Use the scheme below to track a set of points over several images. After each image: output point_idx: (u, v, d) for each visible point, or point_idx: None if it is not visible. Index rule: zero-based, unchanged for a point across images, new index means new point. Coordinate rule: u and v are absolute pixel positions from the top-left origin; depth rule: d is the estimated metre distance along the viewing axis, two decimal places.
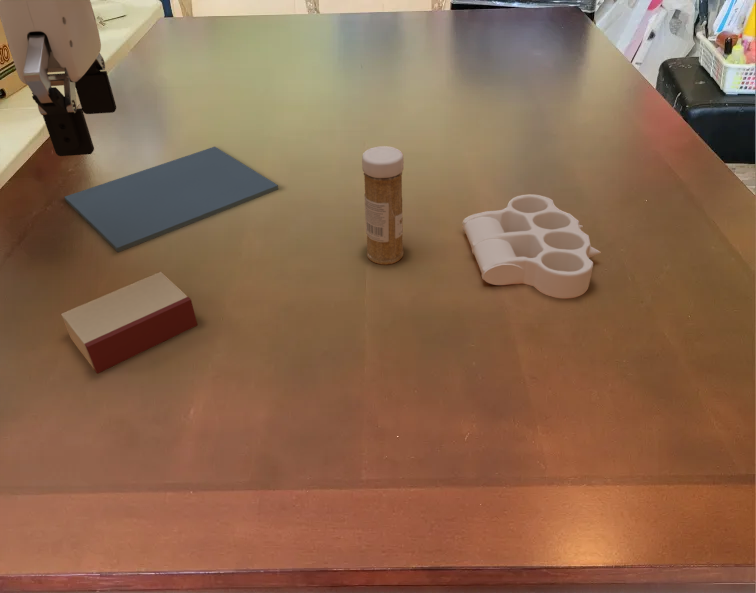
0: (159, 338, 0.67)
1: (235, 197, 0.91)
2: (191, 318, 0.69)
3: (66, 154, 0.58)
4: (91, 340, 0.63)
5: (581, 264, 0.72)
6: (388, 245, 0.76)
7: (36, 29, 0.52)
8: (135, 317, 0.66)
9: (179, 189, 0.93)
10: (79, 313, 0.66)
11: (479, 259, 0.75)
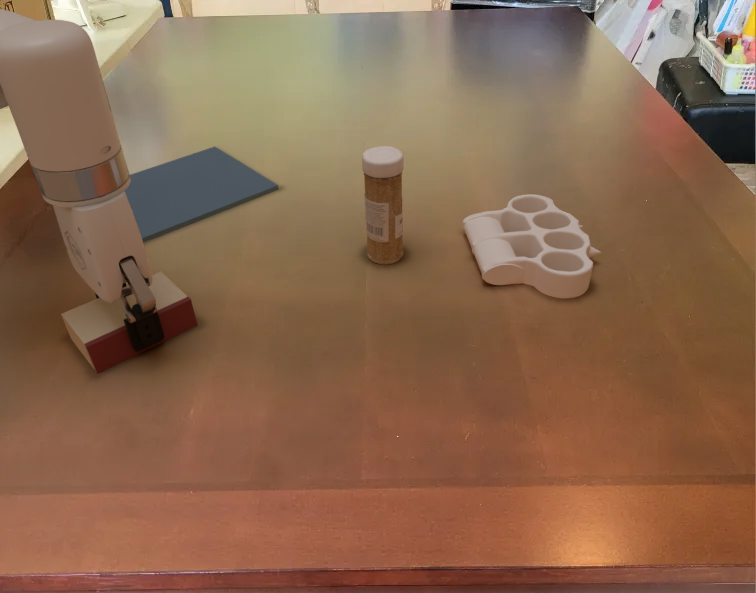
0: None
1: (235, 197, 0.91)
2: (191, 318, 0.69)
3: (143, 348, 0.66)
4: (91, 340, 0.63)
5: (581, 264, 0.72)
6: (388, 245, 0.76)
7: (126, 255, 0.59)
8: None
9: (179, 189, 0.93)
10: (79, 313, 0.66)
11: (479, 259, 0.75)
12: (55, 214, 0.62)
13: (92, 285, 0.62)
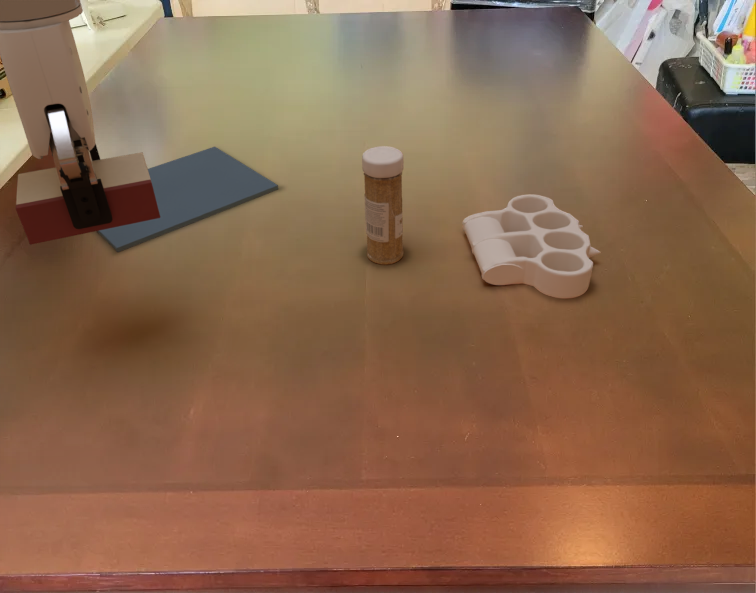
0: None
1: (235, 197, 0.91)
2: (151, 206, 0.59)
3: (85, 227, 0.57)
4: (25, 203, 0.55)
5: (581, 264, 0.72)
6: (388, 245, 0.76)
7: (54, 102, 0.49)
8: None
9: (179, 189, 0.93)
10: (34, 176, 0.59)
11: (479, 259, 0.75)
12: None
13: None
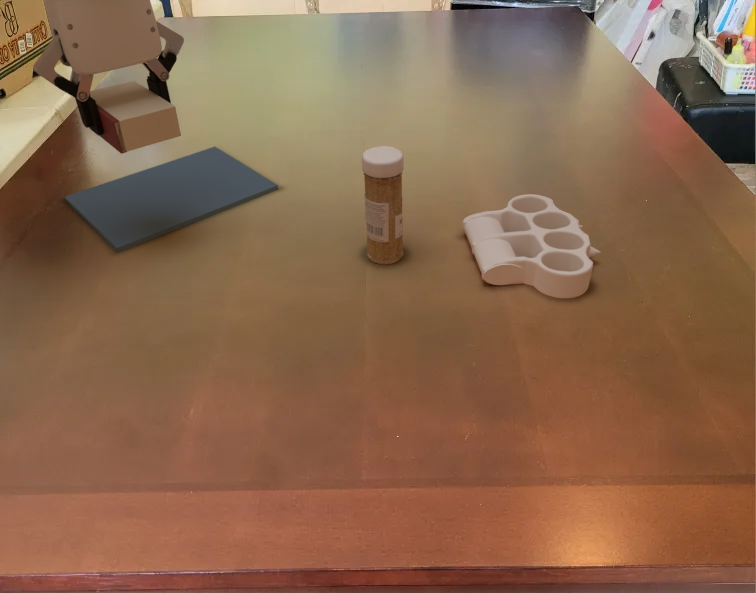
0: (104, 135, 0.73)
1: (235, 197, 0.91)
2: (116, 140, 0.70)
3: (91, 129, 0.74)
4: None
5: (581, 264, 0.72)
6: (388, 245, 0.76)
7: (55, 28, 0.66)
8: (103, 105, 0.72)
9: (179, 189, 0.93)
10: (128, 86, 0.77)
11: (479, 259, 0.75)
12: None
13: None
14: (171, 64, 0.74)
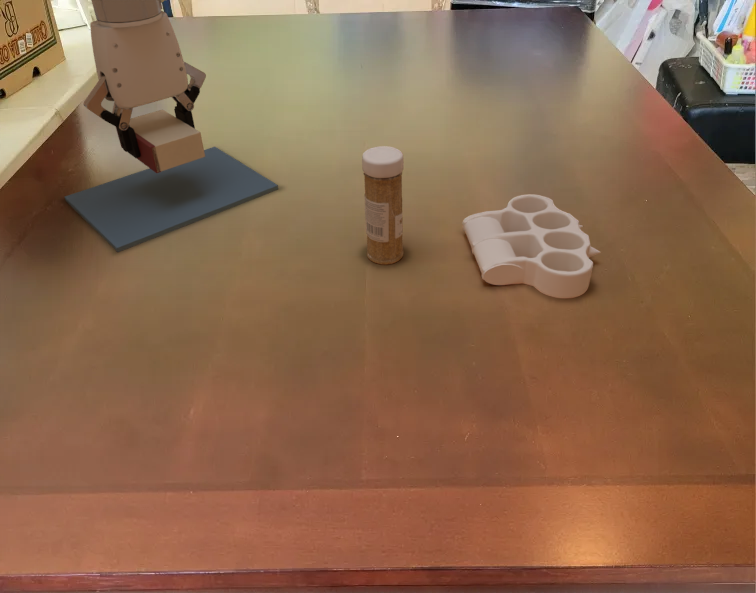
0: (140, 157, 0.86)
1: (235, 197, 0.91)
2: (152, 162, 0.83)
3: (129, 152, 0.87)
4: None
5: (581, 264, 0.72)
6: (388, 245, 0.76)
7: (101, 71, 0.79)
8: (139, 132, 0.86)
9: (179, 189, 0.93)
10: (158, 114, 0.91)
11: (479, 259, 0.75)
12: None
13: None
14: (195, 96, 0.88)
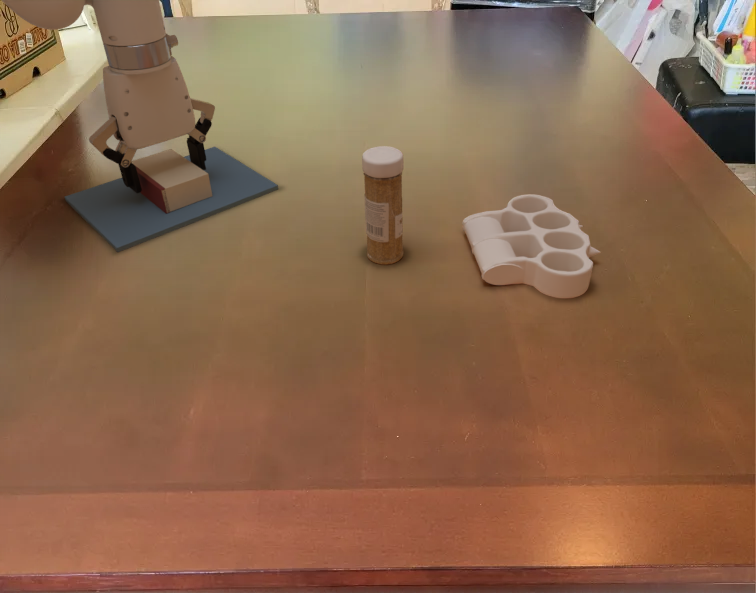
0: (150, 197, 0.90)
1: (235, 197, 0.91)
2: (162, 203, 0.87)
3: (130, 187, 0.89)
4: (132, 163, 0.92)
5: (581, 264, 0.72)
6: (388, 245, 0.76)
7: (113, 114, 0.82)
8: (149, 173, 0.89)
9: None
10: (167, 154, 0.94)
11: (479, 259, 0.75)
12: None
13: None
14: (207, 129, 0.91)
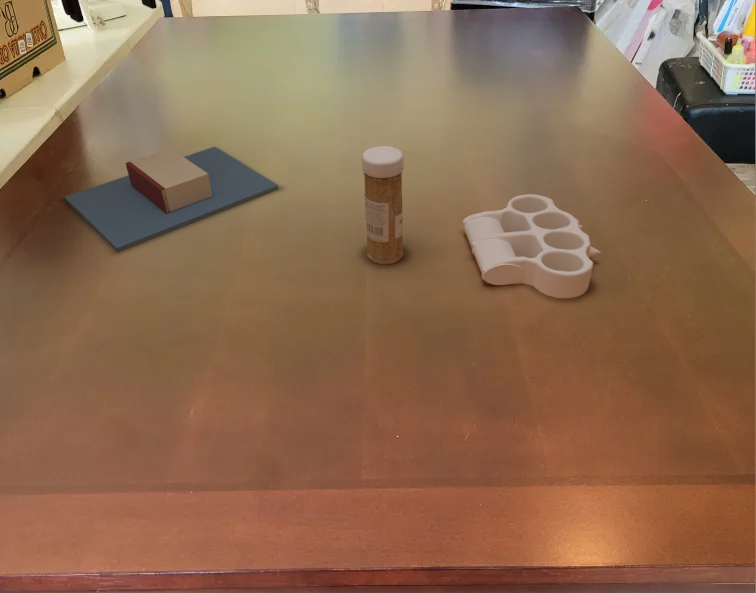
0: (150, 197, 0.90)
1: (235, 197, 0.91)
2: (162, 203, 0.87)
3: (72, 18, 0.83)
4: (132, 163, 0.92)
5: (581, 264, 0.72)
6: (388, 245, 0.76)
7: None
8: (149, 173, 0.89)
9: None
10: (167, 154, 0.94)
11: (479, 259, 0.75)
12: None
13: None
14: None
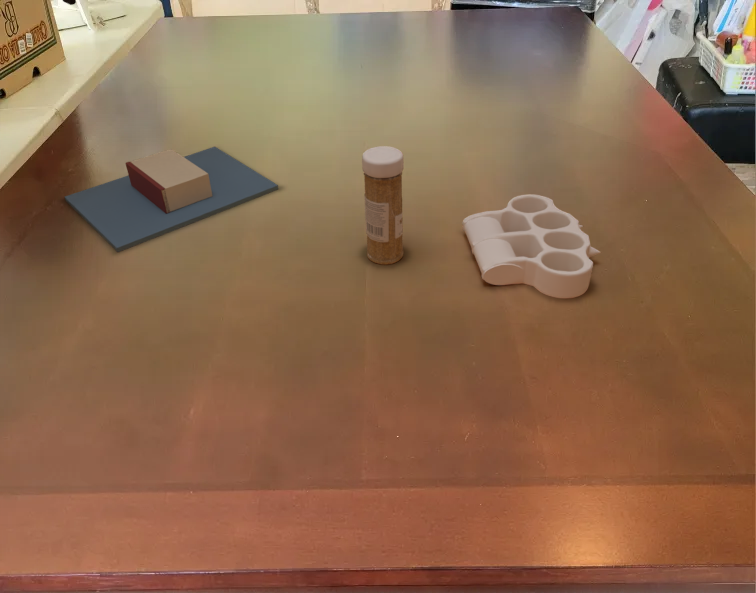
0: (150, 197, 0.90)
1: (235, 197, 0.91)
2: (162, 203, 0.87)
3: (64, 1, 0.85)
4: (132, 163, 0.92)
5: (581, 264, 0.72)
6: (388, 245, 0.76)
7: None
8: (149, 173, 0.89)
9: None
10: (167, 154, 0.94)
11: (479, 259, 0.75)
12: None
13: None
14: None
